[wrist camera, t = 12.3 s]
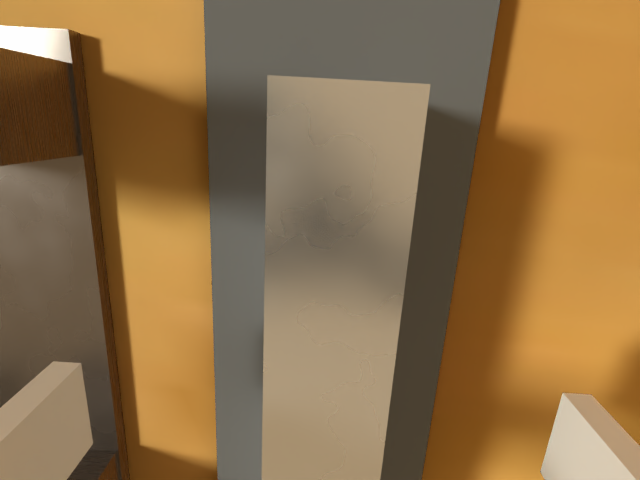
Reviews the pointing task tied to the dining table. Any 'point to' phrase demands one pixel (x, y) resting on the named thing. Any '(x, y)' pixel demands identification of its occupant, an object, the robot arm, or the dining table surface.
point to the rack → (54, 237)
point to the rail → (335, 269)
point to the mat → (250, 186)
